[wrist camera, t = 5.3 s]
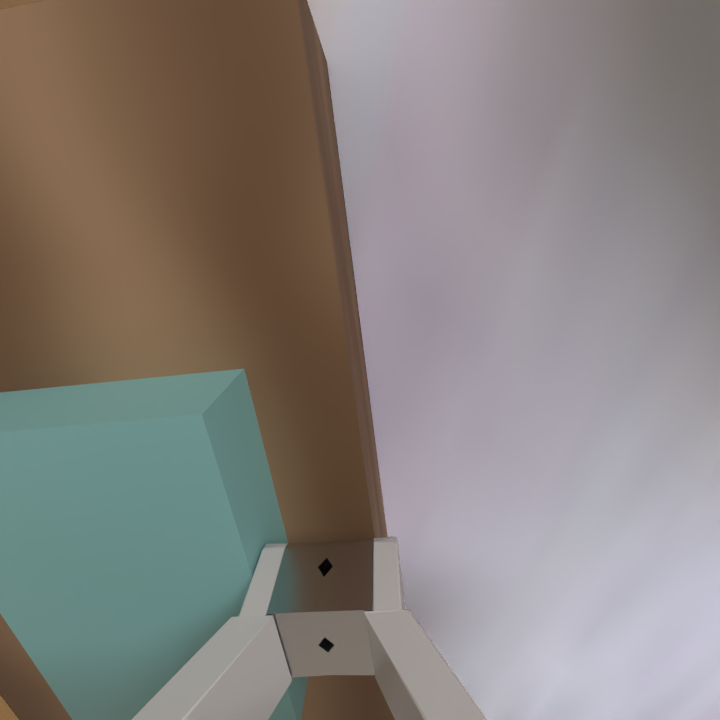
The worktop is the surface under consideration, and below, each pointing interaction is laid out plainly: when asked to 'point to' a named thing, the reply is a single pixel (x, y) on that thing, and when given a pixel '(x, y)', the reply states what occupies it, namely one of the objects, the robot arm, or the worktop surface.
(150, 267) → the board
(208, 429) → the teal block
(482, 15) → the worktop surface
